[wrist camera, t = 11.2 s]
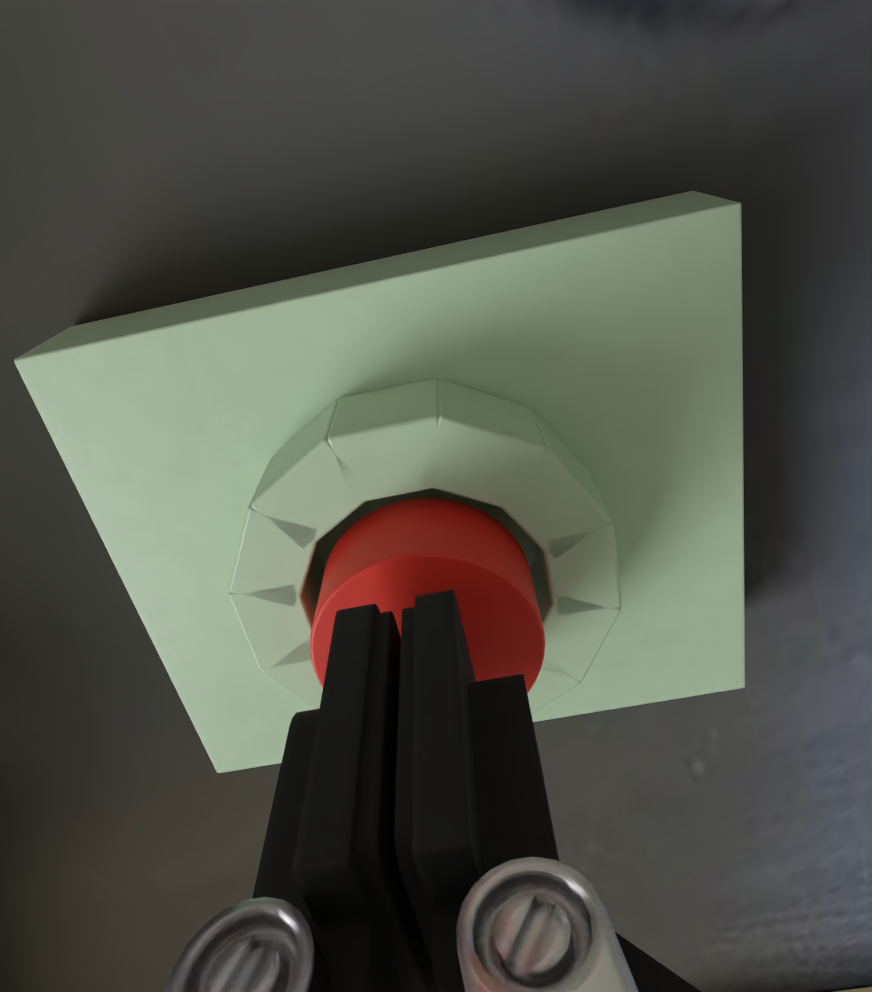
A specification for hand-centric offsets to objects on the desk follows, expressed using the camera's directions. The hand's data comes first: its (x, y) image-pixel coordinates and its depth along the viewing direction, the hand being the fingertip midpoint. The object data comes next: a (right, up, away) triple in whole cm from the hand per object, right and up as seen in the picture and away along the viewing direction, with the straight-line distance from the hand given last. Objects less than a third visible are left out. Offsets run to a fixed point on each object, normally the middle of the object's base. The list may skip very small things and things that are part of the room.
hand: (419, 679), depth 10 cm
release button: (0, +1, +2) cm, 2 cm away
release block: (0, +3, +5) cm, 6 cm away
